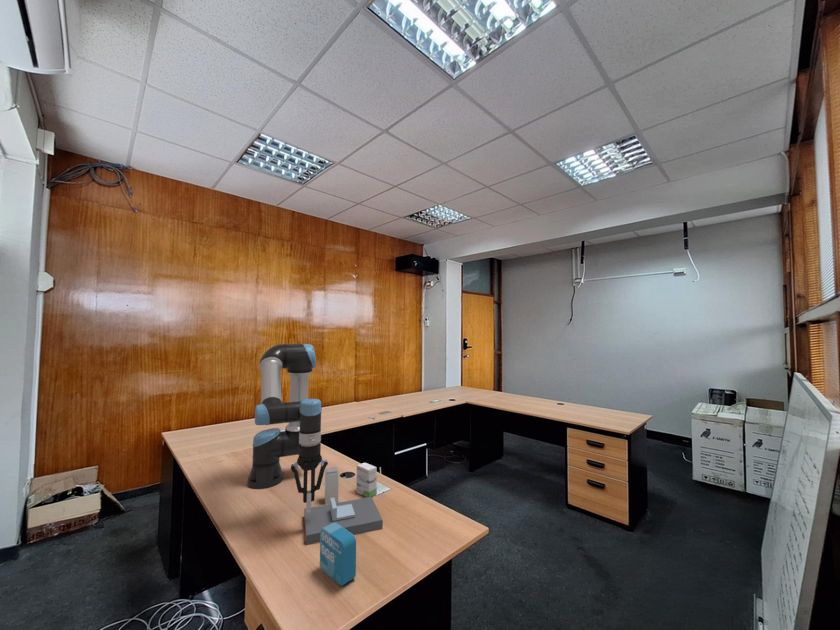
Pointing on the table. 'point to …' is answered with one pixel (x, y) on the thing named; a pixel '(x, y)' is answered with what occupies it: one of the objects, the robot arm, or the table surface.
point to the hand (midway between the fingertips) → (308, 510)
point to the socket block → (362, 522)
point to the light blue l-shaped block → (340, 511)
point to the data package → (338, 553)
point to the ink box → (366, 480)
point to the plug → (331, 484)
